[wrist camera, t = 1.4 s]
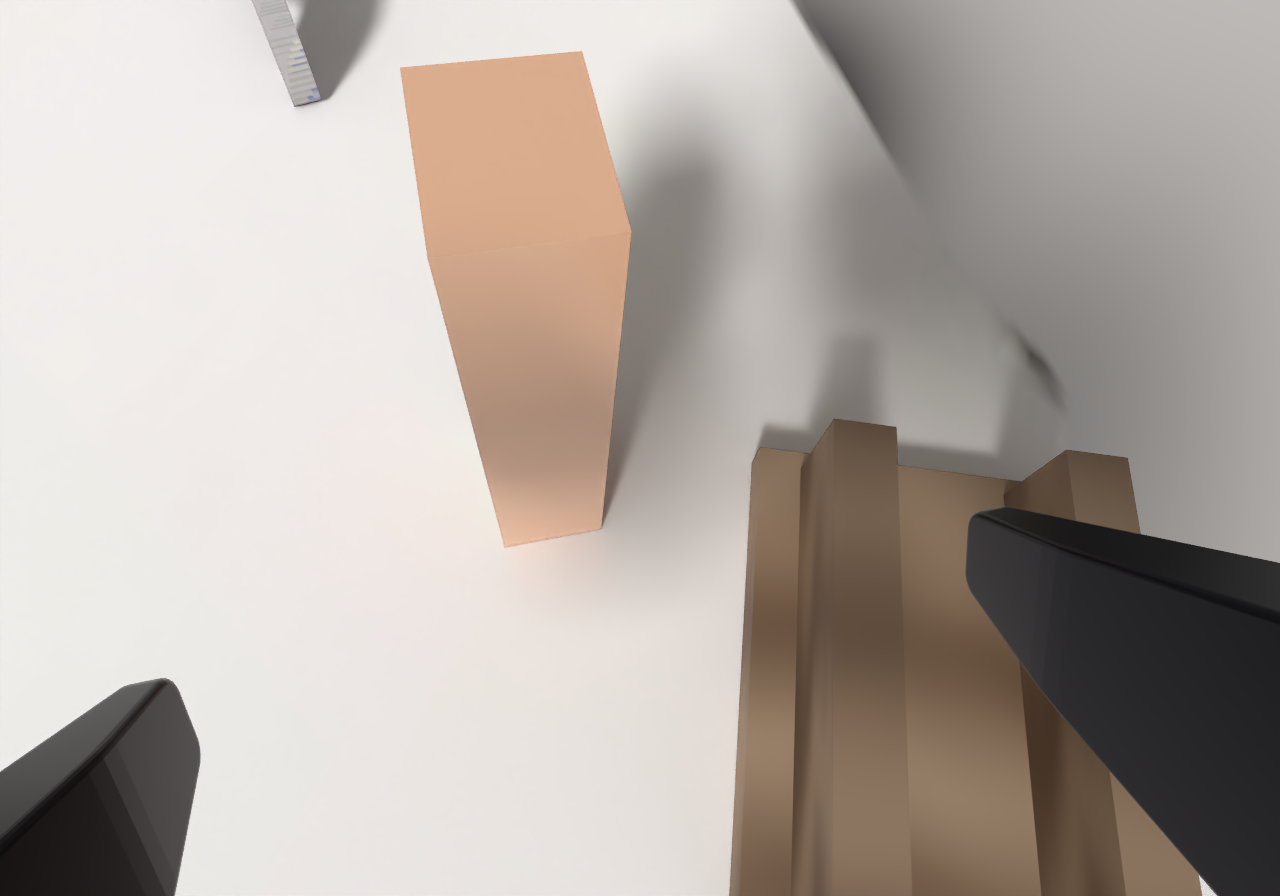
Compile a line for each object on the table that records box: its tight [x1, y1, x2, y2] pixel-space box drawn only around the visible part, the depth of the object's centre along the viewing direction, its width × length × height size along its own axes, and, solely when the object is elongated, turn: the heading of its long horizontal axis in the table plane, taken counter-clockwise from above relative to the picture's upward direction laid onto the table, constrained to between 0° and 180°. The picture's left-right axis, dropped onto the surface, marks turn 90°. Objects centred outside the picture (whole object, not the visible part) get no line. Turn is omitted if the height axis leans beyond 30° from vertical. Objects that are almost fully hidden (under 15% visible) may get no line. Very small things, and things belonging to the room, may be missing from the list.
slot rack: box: [729, 419, 1202, 896], centre depth 20 cm, size 12×10×4 cm
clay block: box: [400, 51, 632, 547], centre depth 17 cm, size 4×3×13 cm
